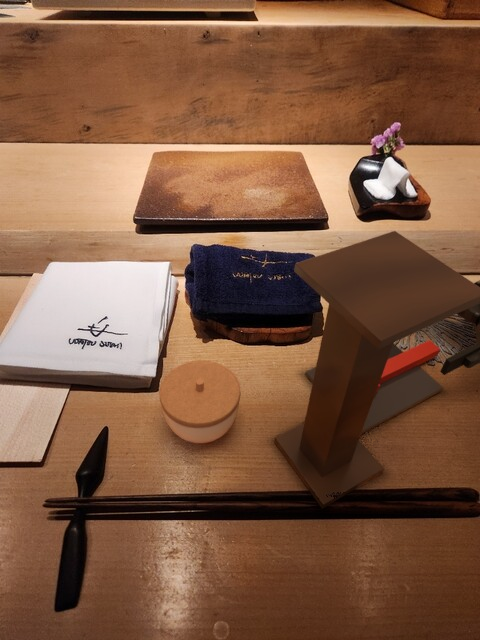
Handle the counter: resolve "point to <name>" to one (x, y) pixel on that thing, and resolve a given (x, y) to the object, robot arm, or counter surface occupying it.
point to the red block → (408, 360)
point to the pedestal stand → (363, 349)
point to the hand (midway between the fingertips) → (409, 337)
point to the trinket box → (200, 400)
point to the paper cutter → (397, 393)
